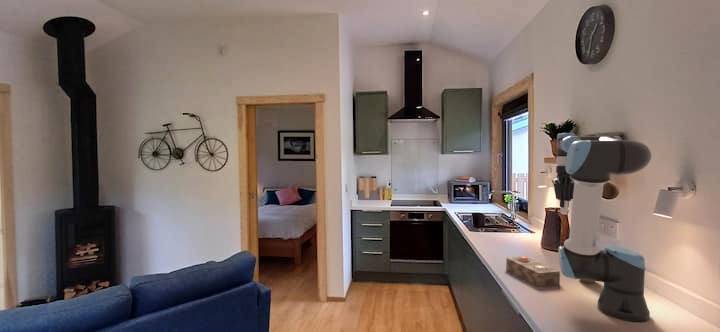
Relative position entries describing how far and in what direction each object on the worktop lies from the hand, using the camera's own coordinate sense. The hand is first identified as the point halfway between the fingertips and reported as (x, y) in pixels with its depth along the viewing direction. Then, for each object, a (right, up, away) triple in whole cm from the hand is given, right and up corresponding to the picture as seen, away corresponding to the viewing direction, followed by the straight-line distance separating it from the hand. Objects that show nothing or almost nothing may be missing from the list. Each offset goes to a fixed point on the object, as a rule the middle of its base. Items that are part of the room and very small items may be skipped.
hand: (564, 214), depth 162 cm
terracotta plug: (-18, -28, +3) cm, 33 cm away
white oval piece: (-16, -29, -8) cm, 34 cm away
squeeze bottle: (+6, -30, -8) cm, 32 cm away
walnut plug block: (-17, -29, -3) cm, 34 cm away
